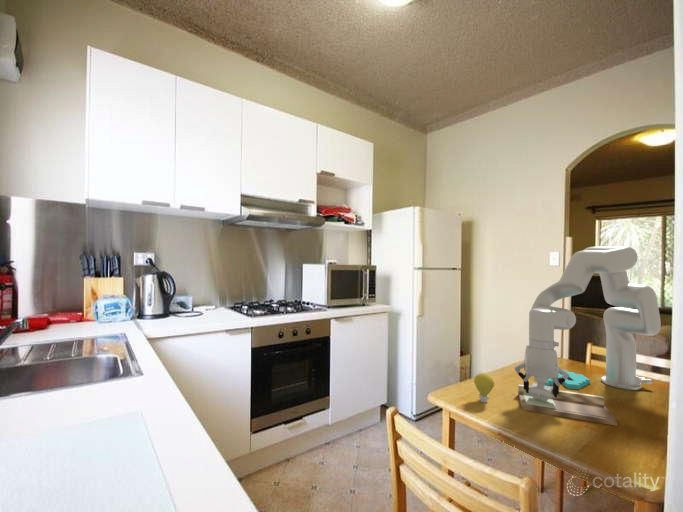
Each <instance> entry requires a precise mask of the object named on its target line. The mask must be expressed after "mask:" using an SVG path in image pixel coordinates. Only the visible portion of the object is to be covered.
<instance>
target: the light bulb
mask: <svg viewBox="0 0 683 512" xmlns="http://www.w3.org/2000/svg"><path fill="white" fill-rule="evenodd" d="M473 383H474V385H475V388H476V389H477V391H478V392H479V394H478V398H479V399H480V402H481V403H488V400H489V399H490V398H489V397H490V396H489V394H490V393H491V391H492V390H493V388H494V387H495V380H494V378H493V377H492V376H491V375H490V374H489V373H486V372H480V373H478V374H476V375H475V377H474V379H473Z"/></svg>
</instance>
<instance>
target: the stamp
mask: <svg viewBox="0 0 683 512" xmlns="http://www.w3.org/2000/svg"><path fill="white" fill-rule="evenodd" d="M533 379H534V380H533V381H534V382H532V384H531V385H530V386H531V387H530V388H529V391H528V392H529V393H530V394H531V396H532V397H533V398H536V399H540V400H544V401H547V400H548V399H549V398H550V397H551V395H552V392H553V386H551V385H549V386H545V385H544V383H546V382H547V381H548V378H547V377H535V376H533ZM536 382H537V383H536Z"/></svg>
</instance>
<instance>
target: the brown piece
mask: <svg viewBox="0 0 683 512" xmlns="http://www.w3.org/2000/svg"><path fill="white" fill-rule="evenodd" d="M530 387H531V385H529V388H530ZM523 393H526V390H525V389H524V384H519V383H518V385H517V395H518V399H519V400H518V401H519V404H520V407H521V410H522V411H528V412H533V413H534V412H535V413H539V414H544V415H545V414H546V415H552V416H557V417H563V418H569V419H576V420H581V421H587V422H593V423H598V424H605V425H611V426H616V427H617V426H618V420H617V419H616V418H615V417H614V415H613V414H612V413H611V412H610V410H609V409H608V408H607V407H606V406H605V397H604V396H603V395H596V394H588V393H581V392H575V391H569V390H568V391H567V390H560V389H559V394H557V397H554V395H553V392H552V395H551V397H552V399H553V401H554V403H555V405H556V407H557V409H554V408H548V407H542V406H536V405H529V404H526V401H525V397H524V394H523ZM527 394H530V393H527Z"/></svg>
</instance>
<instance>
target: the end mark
mask: <svg viewBox="0 0 683 512" xmlns="http://www.w3.org/2000/svg"><path fill="white" fill-rule="evenodd" d="M523 394H524V397H525V401H526V404H529V405H536V406H542V407H548V408H554V409H557V407H556V405H555V403H554V401H553V399H552V397H550V398H549V399H548V400H547V401H544V400H540V399H536V398H533V397H532V396H531V394H527V393H523Z"/></svg>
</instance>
